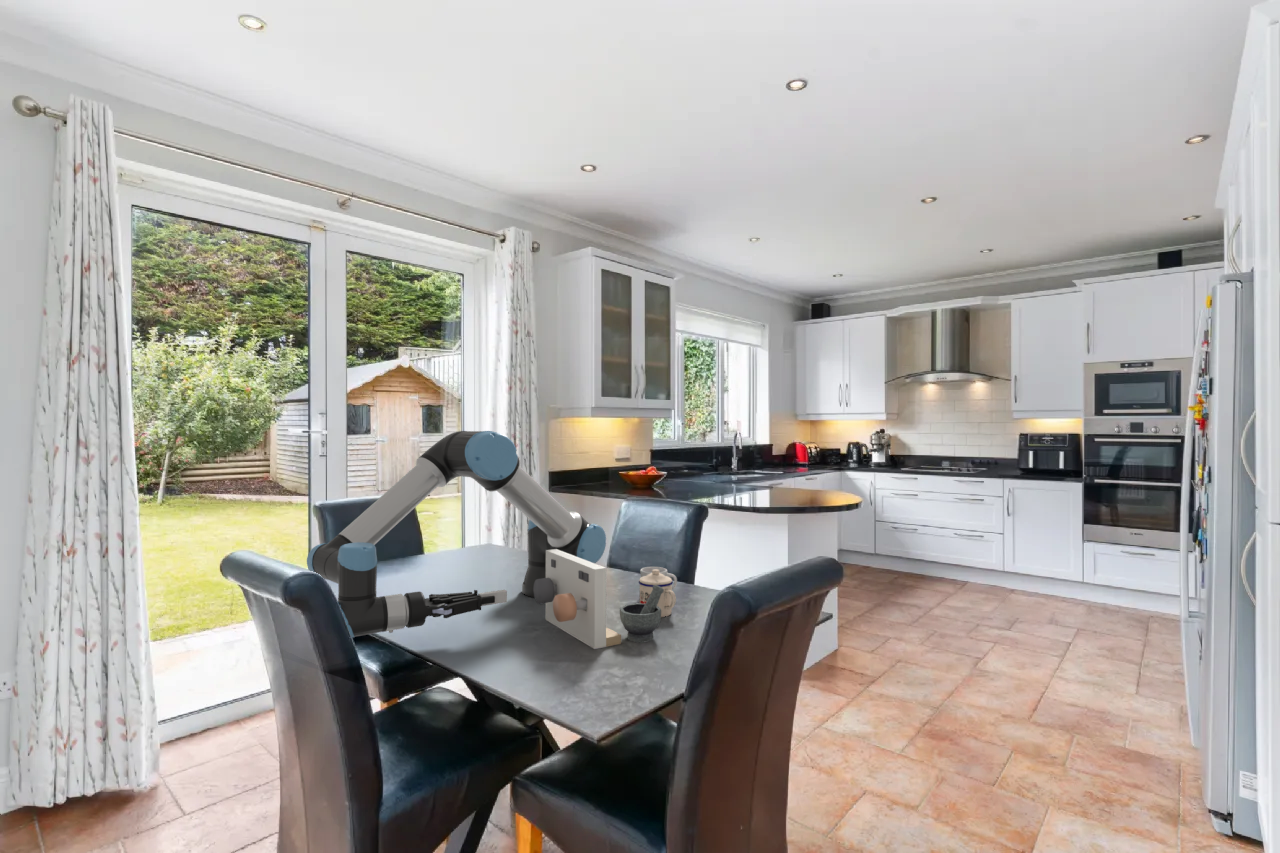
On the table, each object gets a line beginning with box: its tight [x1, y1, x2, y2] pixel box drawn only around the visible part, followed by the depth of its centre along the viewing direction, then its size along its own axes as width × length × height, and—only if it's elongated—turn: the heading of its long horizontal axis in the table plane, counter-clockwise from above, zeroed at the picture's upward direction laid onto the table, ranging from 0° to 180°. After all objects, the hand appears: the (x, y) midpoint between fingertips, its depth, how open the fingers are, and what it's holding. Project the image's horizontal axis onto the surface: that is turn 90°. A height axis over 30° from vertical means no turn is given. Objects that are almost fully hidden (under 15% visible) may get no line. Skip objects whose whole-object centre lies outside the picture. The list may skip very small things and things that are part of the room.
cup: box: [639, 566, 678, 591], centre depth 192 cm, size 11×8×8 cm
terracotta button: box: [553, 593, 587, 622], centre depth 151 cm, size 10×6×6 cm, turn 123°
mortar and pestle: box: [619, 585, 664, 643], centre depth 156 cm, size 11×9×12 cm
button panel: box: [545, 549, 622, 650], centre depth 161 cm, size 7×26×18 cm, turn 33°
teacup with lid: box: [638, 569, 677, 618], centre depth 175 cm, size 12×9×12 cm
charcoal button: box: [533, 578, 557, 605], centre depth 166 cm, size 10×6×6 cm, turn 123°
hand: (505, 595), depth 158 cm, fingers closed
